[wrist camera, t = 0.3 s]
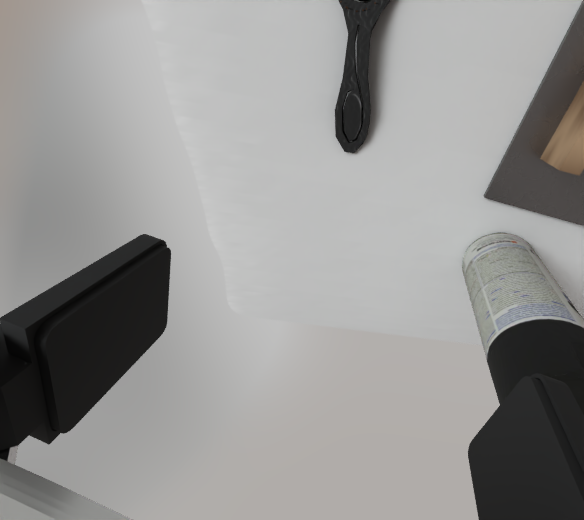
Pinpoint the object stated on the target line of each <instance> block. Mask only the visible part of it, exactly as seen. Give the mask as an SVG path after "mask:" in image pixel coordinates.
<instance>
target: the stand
mask: <svg viewBox="0 0 584 520" xmlns="http://www.w3.org/2000/svg"><path fill="white" fill-rule="evenodd" d="M583 81H584V0H583V1H582V3H581V5H580V7H579V9H578V11H577V13H576V15H575V17H574V19H573V21H572V23H571V25H570V27H569V29H568V31H567V33H566V35H565V37H564V39H563V41H562V43H561V45H560V47H559V49H558V51H557V53H556V55H555V56H554V58H553V60H552V62H551V64H550V66H549V68H548V70H547V72H546V74H545V76H544V78H543V80H542V82H541V84H540V86H539V88H538V90H537V92H536V94H535V96H534V98H533V100H532V102H531V104H530V106H529V108H528V110H527V112H526V113H525V115H524V117H523V119H522V121H521V123H520V125H519V127H518V129H517V131H516V133H515V135H514V137H513V139H512V141H511V143H510V145H509V147H508V149H507V151H506V153H505V155H504V157H503V159H502V161H501V163H500V165H499V167H498V169H497V170H496V172H495V174H494V176H493V178H492V180H491V182H490V184H489V186H488V188H487V190H486V192H485V194H484V197H485V198H488V199H492V200H495V201H499V202H502V203H506V204H509V205H513V206H517V207H520V208H524V209H527V210H531V211H534V212H538V213H541V214H545V215H549V216H552V217H556V218H559V219H563V220H566V221H570V222H573V223H577V224H581V225H584V169H583V171H582V172H581V174H580V175H575V174H571V173H568V172H564V171H560V170H558V169H556V168H554V167H553V166H551V165H550V164H548V163H546V162H545V161H543V160H541V159H540V158H541V156H542V154H543V152H544V151H545V149H546V147H547V145H548V144H549V142H550V140H551V138H552V136H553V135H554V133H555V131H556V129H557V128H558V126H559V124H560V122H561V120H562V119H563V117H564V115H565V113H566V112H567V110H568V108H569V106H570V104H571V103H572V101H573V99H574V97H575V96H576V94H577V92H578V90H579V88H580V87H581V85H582V83H583Z"/></svg>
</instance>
